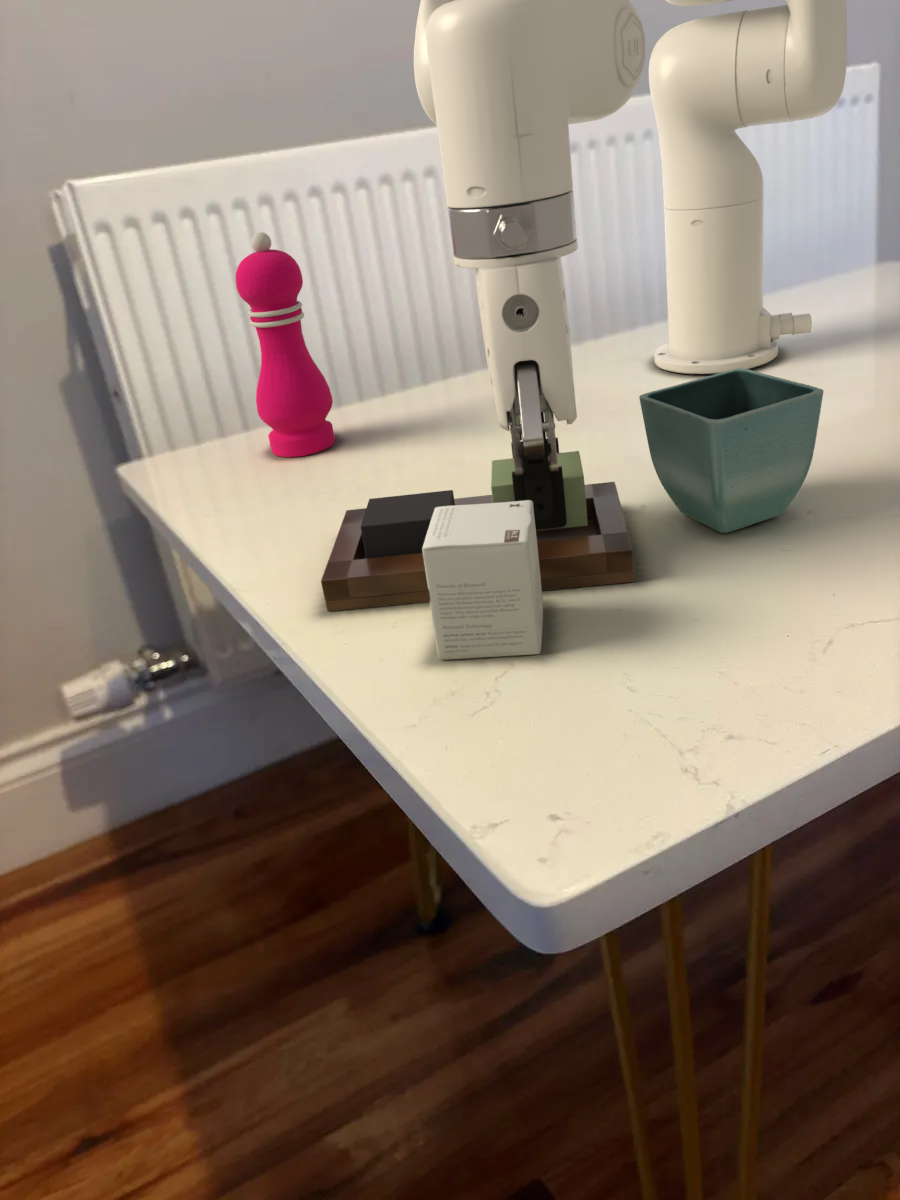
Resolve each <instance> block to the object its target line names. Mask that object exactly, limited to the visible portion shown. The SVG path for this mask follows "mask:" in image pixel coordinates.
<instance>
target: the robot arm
mask: <svg viewBox="0 0 900 1200" xmlns="http://www.w3.org/2000/svg"><path fill="white" fill-rule="evenodd" d="M664 1H665V2H666V3H668V4H671V5H673V6H676V7H677V6H678V7H696V6H697V7H698V6H707V5H713V4H720V3H725V2H733V1H734V0H664ZM784 1H785V2H786V4H784V5H783V4H782V5H776V6H770V7H764V8H758V9H752V10H751V9H750V10H741V11H735V12H728V13H722V14H716V15H709V16H704V17H699V18H696V19H692V20H689V21H685V22H683V23H680V24H677V25H676V26H674V27H672V28H670V29H669V30H667V31H666V32H665V33H663V35H662V36H661V37H660V38H659V39H658V40H657V41H656V43H655V45H654V47H653V48H652V51H651V53H650V57H649V62H648V85H649V93H650V99H651V103H652V109H653V113H654V120H655V124H656V129H657V135H658V141H659V142H658V143H659V151H660V162H661V174H662V175H661V177H662V193H663V196H662V197H663V216H664V219H663V220H664V245H665V246H664V247H665V272H666V275H665V276H666V296H667V297H666V298H667V300H666V301H667V325H668V326H667V327H668V328H667V329H668V330H667V331H668V342H666V343H664V344H661V345H660V346H659V347H657V348H656V350H655V351H654V353H653V354H654V355H653V358H654V360H653V361H654V363H655V365H656V366H657V367H658V368H659V369H662V370H664V371H667V372H671V373H676V374H677V373H678V374H687V375H715V374H718V373H722V372H726V371H730V370H733V369H738V368H743V369H749V370H751V369H753V368H757V367H760V366H763V365H765V364H768V363H770V362H771V361H773V360H774V359H775V358H776V357H777V356H778V354H779V342H778V341H777V340H779V339H780V336H783V335H801V334H809V333H811V332H812V327H813V326H812V324H813V322H812V316H811V314H810V313H800V314H793V313H792V312H786V313H779V314H778V313H777V314H771V313H770V312H769V311H768V310H767V309H766V308H765V307H764V177H763V173H762V169H761V165H760V164H759V162H758V160H757V159H756V157H755V155H754V154H753V152H752V151H751V149H749V148H748V146H747V145H746V144H745V142H744V141H743V140H742V138H741V137H740V136H739V135H738V133H737V132H736V130H738V129H742V128H748V127H754V126H755V127H756V126H763V125H774V124H781V123H783V124H784V123H792V122H796V121H804V120H811V119H815V118H818V117H820V116H824V115H826V114H827V113H829V112H830V111H831V110H832V109H834V108H835V107H836V105H837V104H838V102H839V101H840V98H841V96H842V93H843V91H844V87H845V82H846V75H847V63H848V22H847V13H848V12H847V9H848V8H847V0H784ZM645 61H646V38H645V31H644V27H643V23H642V21H641V19H640V16H639V13H638V11H637V10H636V8H635V6H634V5H633V3H632V2H631V0H420V3H419V8H418V13H417V19H416V26H415V34H414V47H413V71H414V72H413V73H414V83H415V84H414V85H415V88H416V93H417V96H418V99H419V102H420V105H421V108H423V111H424V112H425V114H426V116H427V117H428V119H429V120H430V121H431V122H432V123H433V124H434V125H435V126H436V129H437V136H438V146H439V152H440V153H439V154H440V162H441V169H442V177H443V185H444V192H445V202H446V207H447V208H446V210H447V216H448V217H447V218H448V226H449V233H450V241H451V250H452V256H453V257H452V258H453V264H454V266H456V267H458V268H461V269H471V270H472V269H473V270H474V275H475V284H476V291H477V300H478V308H479V316H480V323H481V331H482V337H483V344H484V352H485V358H486V365H487V369H488V375H489V381H490V386H491V391H492V396H493V401H494V402H493V403H494V407H495V411H496V415H497V421H498V425H499V427H500V428H502V429H503V430H504V431H507V432H509V433H510V436H511V443H510V444H511V454H512V458H514V467H515V471H514V472H512V480H513V489H514V498H515V501H525V500H531V501H532V502H533V508H534V518H535V527H536V530H541V529H550V528H560V527H564V526H565V525H566V523H567V518H566V506H565V495H564V484H563V473H562V466H559V467H558V459H557V453H560V448H559V447H560V445H559V437H556V423H555V419H556V420H557V422H563V421H566V424H567V425H572V424H574V422H575V421H576V419H577V418H578V412H577V404H576V393H575V391H576V390H575V382H574V369H573V356H572V355H573V354H572V345H571V344H572V343H571V333H570V332H571V330H570V320H569V309H568V308H569V307H568V300H567V291H566V283H565V275H564V270H563V263H562V257H564V256H568V255H570V254H573V253H574V252H576V251H577V250H578V249H579V247H578V233H577V219H576V218H577V217H576V204H575V193H574V192H575V191H574V180H573V167H572V154H571V153H572V152H571V142H570V128H569V125H574V124H582V123H583V124H584V123H589V122H594V121H599V120H601V119H602V120H603V119H604V118H606V117H608V116H612V115H613V114H615V113H616V112H618V111H619V110H621V108H622V107H624V106H625V105H626V103H628V101H629V100H630V99H631V97H633V95H634V93H635V91H636V89H637V87H638V85H639V83H640V80H641V77H642V75H643V74H642V73H643V71H644V67H645ZM554 418H555V419H554ZM548 456H549V457H548ZM549 466H550V468H549ZM523 469H524V470H523Z"/></svg>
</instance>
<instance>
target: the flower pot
mask: <svg viewBox="0 0 900 1200" xmlns="http://www.w3.org/2000/svg"><path fill="white" fill-rule="evenodd" d="M823 397H824V389H822V388H819V387H816V386H813V385H809V384H805V383H802V382H797V381H792V380H790V379H785V378H782V377H778V376H774V375H770V374H766V373H763V372H760V371H756V370H752V369H743V368H738V369H733V370H730V371H726V372H722V373H716V374H710V375H708V376H703V377H700V378H697V379H694V380H690V381H686V382H682V383H679V384H675V385H671V386H668V387H664V388H660V389H657V390H653V391H650V392H646V393H643V394H641V395H639V396H638V399H639V403H640V409H641V415H642V418H643V424H644V430H645V434H646V440H647V445H648V451H649V455H650V458H651V462H652V465H653V468H654V470H655V472H656V476H657V478H658V480H659V481H660V483H661V485H662V487H663V489H664V491H665V492H666V494H667V495H668V497H669V498H670V500H671V502H673V504H674V505H675V506H676V508H677V509H678V510H679V512H681V514H682V515H683V516H686V517H688V518H690V519H692V520H694V521H697V522H699V523H700V524H702V525H705V526H706V527H708V528H710V529H712V530H713V531H716V532H718V533H722V534H727V533H730V532H734V531H737V530H740V529H742V528H743V529H744V528H746V527H748V526H751V525H754V524H758V523H761V522H763V521H766V520H770V519H773V518H776V517H779V516H781V515H782V514H783V513H784V512H785V511H786V510H787V509H788V507H789V506H790V504H791V503H792V502H793V500H794V499H795V497H796V496H797V494H798V492H799V491H800V490H801V488H802V486H803V484H804V482H805V480H806V477H807V475H808V473H809V471H810V467H811V464H812V461H813V457H814V453H815V452H814V451H815V447H816V442H817V441H816V440H817V436H818V430H819V429H818V428H819V424H820V417H821V410H822V403H823Z"/></svg>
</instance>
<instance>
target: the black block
mask: <svg viewBox="0 0 900 1200" xmlns="http://www.w3.org/2000/svg"><path fill="white" fill-rule="evenodd" d="M454 499H455V496H454V490H453V489H448V490H439V491H438V490H437V491H429V492H428V491H427V492H421V493H420V492H419V493H410V494H402V495H394V496H393V495H391V496H383V497H375V498H374V497H373V498H369V499H368V501H367V505H366V507H365V508H366V511H365V514H364V518H363V521H362V524H361V532H362V537H363V543H364V548H365V553H366V559H368V558H378V557H388V556H397V555H407V554H417V553H423V552H422V547H423V544H424V541H425V537H426V534H427V531H428V528H429V525H430V521H431V518H432V515H433V512H434V509H435V508H436V507H442V506H452V505H455V502H454Z"/></svg>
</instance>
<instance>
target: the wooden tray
mask: <svg viewBox="0 0 900 1200" xmlns="http://www.w3.org/2000/svg"><path fill="white" fill-rule="evenodd" d="M585 497H586V509H587V522H588V525H587V526H580V527H571V528H561V529H551V530H542V531H536V537H537V547H538V557H539V567H540V577H541V588H542V592H543V591H553V590H564V589H572V588H584V587H585V588H586V587H593V586H603V585H614V584H623V583H626V584H627V583H634V582H635V579H636V578H635V563H634V562H635V561H634V549H633V545H632V541H631V537H630V533H629V531H628V527H627V522H626V518H625V515H624V511H623V508H622V503H621V501H620V496H619V493H618V488H617V485H616V482H615V481H608V482H606V481H605V482H598V483H597V482H596V483H589V484H585ZM454 502H455V505H470V504H487V503H493V498H492V494H486V495H485V494H484V495H477V496H467V497H459V498H454ZM366 508H367V507H364V508H355V509H354V508H353V509H346V510H345V513H344V515H343V519H342V521H341V525H340V527H339V530H338V533H337V535H336V538H335V541H334V544H333V547H332V549H331V553H330V555H329V558H328V560H327V563H326V565H325V569H324V571H323V574H322V577H321V580H320V583H321V589H322V593H323V598H324V603H325V606H326V611H327V612H336V611H337V612H338V611H346V610H355V609H356V610H357V609H368V608H379V607H388V606H397V605H398V606H400V605H408V604H419V603H427V602H429V603H430V600H429V593H428V585H427V579H426V572H425V565H424V558H423V553H417V554H407V555H397V556H388V557H378V558H368V559H366V553H365V548H364V543H363V537H362V532H361V524H362V521H363V518H364V514H365V511H366Z"/></svg>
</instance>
